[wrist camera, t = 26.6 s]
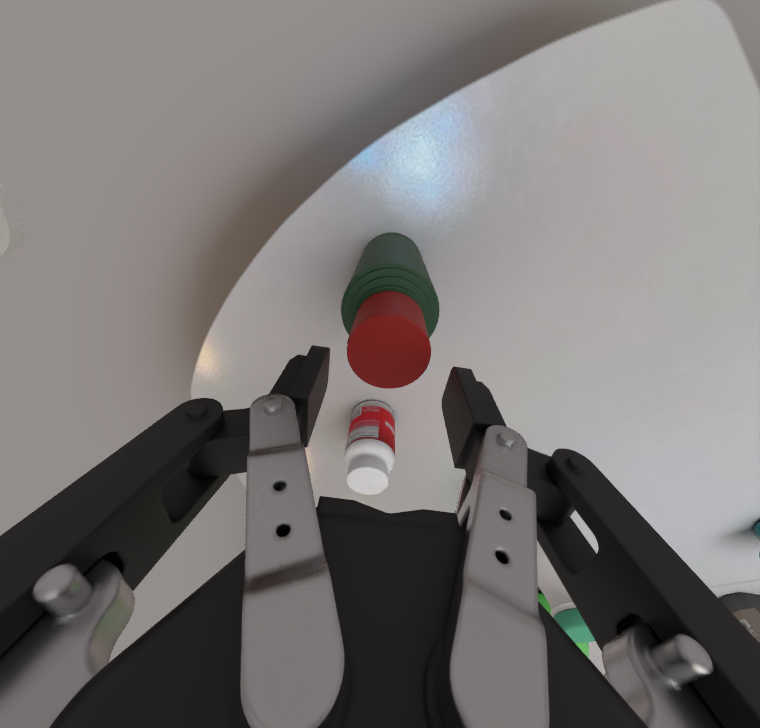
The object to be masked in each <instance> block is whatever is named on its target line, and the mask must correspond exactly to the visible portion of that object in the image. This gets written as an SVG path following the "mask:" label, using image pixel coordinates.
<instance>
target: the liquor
mask: <svg viewBox="0 0 760 728" xmlns="http://www.w3.org/2000/svg"><path fill="white" fill-rule="evenodd" d="M719 600H720V601H721V602H722V603H723V604H724V605H725V606H726V607H727V608H728V609H729V611H730V612H731V613H732V614H733V615H734V616H735V617H736V618H737V619H738V620H739V621H740V622H741V623H742V625H743V626H744V627H745V628H746V629H747V630H748V631H749V632H750V633H751V634H752V635H753V636H754V638H755V639H756V640H757V641H758V642H759V643H760V596H759V595H753V594H747V593H735V594H729V595H726V596H724V597H722V598H720V599H719Z"/></svg>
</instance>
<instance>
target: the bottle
mask: <svg viewBox="0 0 760 728" xmlns="http://www.w3.org/2000/svg"><path fill="white" fill-rule="evenodd" d="M384 291H396V292H400V293H403V294H405V295H407V296H409V297H411V298H412V299H413V300H414V301H415V302H416V303H417V304H418V305H419V307H420V308H421V310H422V313H423V316H424V320H425V324H426V329H427V333H428V337H429V338H430V336H431V335H432V333H433V332H434V330H435V328H436V325H437V322H438V318H439V302H438V297H437V294H436V292H435V289H434V287H433V284H432V282H431V279H430V277H429V274H428V272H427V269H426V267H425V264H424V262H423V259H422V257H421V254H420V252H419V250H418V248H417V246H416V245H415V243H414V242H413V241H412V240H411V239H409V238H408V237H406V236H404V235H402V234H399V233H385V234H382V235H379V236H377V237H376V238H374V239H373V240H372V241H371V242H370V243H369V244H368V245H367V247H366V248H365V250H364V252H363V254H362V257H361V259H360V261H359V263H358V265H357V267H356V270H355V272H354V274H353V276H352V278H351V280H350V282H349V285H348V287H347V289H346V291H345V293H344V296H343V299H342V305H341V314H342V320H343V324H344V327H345V329H346V331H347V333H348V334H349V335H350V332H351V329H352V325H353V322H354V320H355V317H356V314H357V311H358V309H359V307H360V306H361V304H362V303H363V302H364V301H365V300H366V299H368V298H369V297H370V296H372V295H374V294H376V293H379V292H384Z"/></svg>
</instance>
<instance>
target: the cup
mask: <svg viewBox="0 0 760 728" xmlns="http://www.w3.org/2000/svg"><path fill="white" fill-rule="evenodd" d="M754 533H755V535H756V536H757V537H758V538H759V539H760V521H759V522H758V523H757V524H756V525H755V527H754ZM759 557H760V552H759Z"/></svg>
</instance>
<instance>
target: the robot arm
mask: <svg viewBox="0 0 760 728" xmlns="http://www.w3.org/2000/svg"><path fill="white" fill-rule="evenodd" d="M329 358H330V348H327V347H320V346H314V345H312V347H311V348H310V350H309V352H308V354H307V356H304V355H297V356H295V357H294V358H292V359H291V360H289V362H288V364H287V365H286V367H285V369H284V370H283V372H282V375H280V377H279V378H278V380H277V382H276V383H275V385H274V387H273V388H272V390H271V392H270V393H269V394H268V395H264V396H262V397H259V398H258V399H256V400H255V401H254V402H253V403H252V404H251V406H250V408H246V409H238V410H226V411H223V407H222V405H221V403H220V402H218V401H217V400H214V399H210V398H199V399H193V400H190V401H187V402H184V403H182V404H181V405H179V406H178V407H176V408H175V409H174V410H172V411H171V412H169V413H168V414H167V415H165V416H164V417H162V418H161V419H160V420H158V421H157V422H156V423H154V424H153V425H152V426H150V427H149V428H148V429H146V430H145V431H143V432H142V433H141V434H139V435H138V436H136V437H135V438H134V439H132V440H131V441H130V442H128V443H127V444H126V445H124V446H123V447H121V448H120V449H119V450H117V451H116V452H115V453H113V454H112V455H111V456H109V457H108V458H106V459H105V460H104V461H102V462H101V463H100V464H98V465H97V466H96V467H94V468H93V469H91V470H90V471H89V472H87V473H86V474H84V475H83V476H82V477H80V478H79V479H78V480H76V481H75V482H74V483H72V484H71V485H69V486H68V487H67V488H65V489H64V490H63V491H61V492H60V493H58V494H57V495H56V496H54V497H53V498H52V499H51V500H49V501H48V502H46V503H45V504H43V505H42V506H41V507H39V508H38V509H37V510H35V511H34V512H32V513H31V514H30V515H28V516H27V517H26V518H24V519H23V520H22V521H20V522H19V523H17V524H16V525H15V526H13V527H12V528H11V529H9V530H8V531H6V532H5V533H4V534H2V535H1V536H0V728H760V643H759V642H758V641H757V640H756V639H755V638H754V636H753V635H752V634H751V633H750V632H749V631H748V630H747V629H746V628H745V627H744V626H743V625H742V623H741V622H740V621H739V620H738V619H737V618H736V617H735V616H734V615H733V614H732V613H731V612H730V611H729V609H728V608H727V607H726V606H725V605H724V604H723V603H722V602H721V601H720V600H719V599H718V598H717V597H716V595H715V594H714V593H713V592H712V591H711V590H710V589H709V588H708V587H707V586H706V585H705V584H704V583H703V581H702V580H701V579H700V578H699V577H698V576H697V575H696V574H695V573H694V572H693V571H692V570H691V569H690V567H689V566H688V565H687V564H686V563H685V562H684V561H683V560H682V559H681V558H680V557H679V556H678V555H677V553H676V552H675V551H674V550H673V549H672V548H671V547H670V546H669V545H668V544H667V543H666V542H665V541H664V539H663V538H662V537H661V536H660V535H659V534H658V533H657V532H656V531H655V530H654V529H653V528H652V527H651V525H650V524H649V523H648V522H647V521H646V520H645V519H644V518H643V517H642V516H641V515H640V514H639V513H638V511H637V510H636V509H635V508H634V507H633V506H632V505H631V504H630V503H629V502H628V501H627V500H626V499H625V497H624V496H623V495H622V494H621V493H620V492H619V491H618V490H617V489H616V488H615V487H614V486H613V485H612V483H611V482H610V481H609V480H608V479H607V478H606V477H605V476H604V475H603V474H602V473H601V472H600V471H599V469H598V468H597V467H596V466H595V465H594V464H593V463H592V462H591V461H590V460H588V459H587V458H586V457H584V456H583V455H581V454H579V453H577V452H575V451H572V450H569V449H557V450H556V451H555V452H554V453H553V455H552V456H551V457H550V456H547V455H545V454H542V453H539V452H536V451H534V450H531V449H529V448H527V443H526V441H525V440H524V438H523V437H522V436H521V435H520V434H518V433H517V432H516V431H514V430H512V429H510V428H508V427H507V426H506V424H505V422H504V420H503V418H502V416H501V413H500V411H499V409H498V407H497V406H496V403H495V401H494V399H493V396H492V394H491V392H490V390H489V389H488V388H487V387H486V386H485V385H484V384H483V383H482V382H479V381H476V379H475V377H474V374H473V372H472V370H471V369H467V368H460V367H453V368H452V370H451V372H450V375H449V378H448V381H447V384H446V388H445V391H444V394H443V398H442V411H443V416H444V420H445V425H446V429H447V434H448V439H449V443H450V448H451V453H452V457H453V462H454V467H455V468H460V469H465V471H466V476H465V478H464V480H463V483H462V487H461V491H460V495H459V499H458V503H457V507H456V511H455V513H448V512H440V511H432V510H425V509H423V510H415V511H408V512H400V513H392V514H389V513H385V512H383V511H380V510H377V509H375V508H372V507H370V506H367V505H364V504H362V503H359V502H357V501H354V500H346V499H339V498H331V497H323V496H320V498H319V502H318V506H317V507H315V501H314V496H313V490H312V485H311V479H310V474H309V468H308V463H307V457H306V452H305V447H307V446H308V443H309V440H310V437H311V434H312V431H313V428H314V425H315V422H316V419H317V416H318V413H319V410H320V407H321V404H322V401H323V398H324V395H325V392H326V389H327V384H328V374H329ZM243 472H247V491H246V494H247V495H246V497H247V498H246V544H245V550H244V551H243V552H241V553H240V554H239V555H238V556H237V557H235V558H234V559H233V560H232V561H231V562H229V563H228V564H227V565H226V566H225V567H223V568H222V569H221V570H220V571H219V572H218V573H216V574H215V575H214V576H213V577H212V578H210V579H209V580H208V581H207V582H206V583H204V584H203V585H202V586H201V587H200V588H198V589H197V590H196V591H195V592H194V593H192V594H191V595H190V596H189V597H188V598H187V599H185V600H184V601H183V602H182V603H180V604H179V605H178V606H177V607H176V608H175V609H173V610H172V611H171V612H170V613H169V614H167V615H166V616H165V617H164V618H162V619H161V620H160V621H159V622H158V623H157V624H155V625H154V626H153V627H152V628H150V629H149V630H148V631H147V632H146V633H144V634H143V635H142V636H141V637H140V638H138V639H137V640H136V641H135V642H134V643H132V644H131V645H130V646H129V647H128V648H126V649H125V650H124V651H123V652H122V653H120V654H119V655H118V656H117V657H116V658H114V659H113V660H112V661H111V662H110V663H109V660H110V655H111V652H112V650H113V647H114V645H115V643H116V641H117V639H118V637H119V636H120V634H121V633H122V631H123V630H124V628H125V627H126V625H127V624H128V622H129V620H130V618H131V615H132V613H133V610H134V605H135V597H134V593H133V591H134V589H135V588H136V587H137V586H138V585H139V583H140V582H141V581H142V580H143V579H144V577H145V576H146V575H147V574H148V573H149V571H150V570H151V569H152V568H153V567H154V565H155V564H156V563H157V562H158V561H159V559H160V558H161V557H162V556H163V555H164V554H165V552H166V551H167V550H168V549H169V548H170V546H171V545H172V544H173V543H174V542H175V540H176V539H177V538H178V537H179V536H180V534H181V533H182V532H183V531H184V530H185V528H186V527H187V526H188V525H189V524H190V522H191V521H192V520H193V519H194V518H195V517H196V515H197V514H198V513H199V512H200V511H201V509H202V508H203V507H204V506H205V505H206V503H207V502H208V501H209V499H211V497H212V496H213V495H214V494H215V493H216V491H217V490H218V489H219V488H220V487H221V485H222V484H223V483H224V482H225V481H226V480H227V478H228V477H229V476H230V474H236V473H243ZM575 510H576V511H577V512H578V514H579V515H580V516H581V518H582V519H583V520H584V522H585V523H586V524H587V526H588V527H589V528H590V530H591V531H592V532H593V534H594V535H595V537H596V539H597V542H598V546H599V550H598V553H597V554H596V552H595V551H594V550H593V548H592V547H591V545H590V544H589V543H588V541H587V540H586V538H585V537H584V536H583V534H582V533H581V531H580V530H579V529H578V527H577V526H576V524H575V523H574V522H573V520H572V519H571V517H570V516H571V514H572V513H573V512H574V511H575ZM537 541H538V542H539V544H540V546H541V548H542V549H543V551H544V553H545V555H546V556H547V558H548V560H549V561H550V563H551V565H552V567H553V568H554V570H555V572H556V574H557V575H558V577H559V579H560V580H561V582H562V584H563V586H564V587H565V589H566V591H567V592H568V594H569V596H570V598H571V599H572V601H573V603H574V605H575V606H576V608H577V610H578V611H579V613H580V615H581V617H582V618H583V620H584V622H585V624H586V625H587V627H588V629H589V630H590V632H591V634H592V636H593V637H594V639H595V641H596V642H597V644H598V646H599V648H600V649H601V651H602V659H603V664H604V668H605V671H606V673H605V674H604V676H603V675H602V673H601V672H600V671H599V670H598V669H597V668H596V667H595V665H594V664H593V663H592V662H591V661H590V660H589V659H588V657H587V656H586V655H585V654H584V653H583V652H582V650H581V649H580V648H579V647H578V646H577V645H576V644H575V642H574V641H573V640H572V639H571V638H570V637H569V635H568V634H567V633H566V632H565V631H564V630H563V629H562V627H561V626H560V625H559V624H558V623H557V622H556V620H555V619H554V618H553V617H552V616H551V615H550V614H549V612H548V611H547V610H546V609H545V608H544V607H543V606H542V604H541V603H540V602H539V601H538V577H537Z"/></svg>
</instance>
